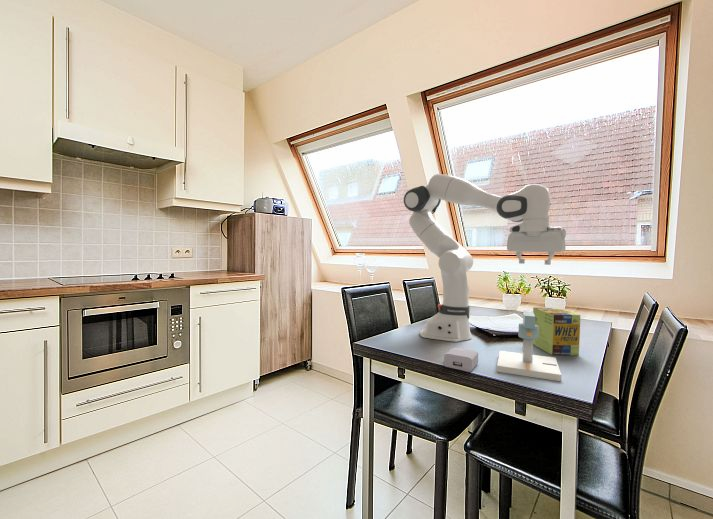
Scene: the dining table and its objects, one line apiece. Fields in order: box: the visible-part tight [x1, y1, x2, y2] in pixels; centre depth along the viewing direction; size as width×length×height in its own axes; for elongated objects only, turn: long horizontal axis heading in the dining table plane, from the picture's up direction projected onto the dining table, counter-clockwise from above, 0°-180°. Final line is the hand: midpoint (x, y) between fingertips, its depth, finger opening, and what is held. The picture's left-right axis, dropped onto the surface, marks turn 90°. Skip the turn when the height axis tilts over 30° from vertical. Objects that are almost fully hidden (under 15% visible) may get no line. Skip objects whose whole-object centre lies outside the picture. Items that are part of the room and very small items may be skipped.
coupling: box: [518, 310, 539, 339], centre depth 116 cm, size 10×6×8 cm, turn 157°
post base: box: [496, 338, 562, 382], centre depth 116 cm, size 18×18×10 cm
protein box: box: [532, 307, 581, 356], centre depth 137 cm, size 10×15×16 cm
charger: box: [443, 347, 479, 372], centre depth 120 cm, size 5×9×15 cm
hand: (534, 264), depth 131 cm, fingers open, 8 cm apart
